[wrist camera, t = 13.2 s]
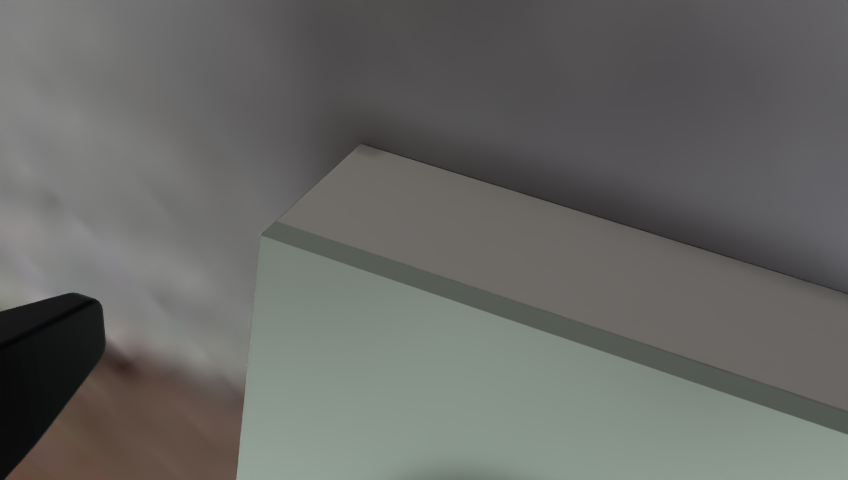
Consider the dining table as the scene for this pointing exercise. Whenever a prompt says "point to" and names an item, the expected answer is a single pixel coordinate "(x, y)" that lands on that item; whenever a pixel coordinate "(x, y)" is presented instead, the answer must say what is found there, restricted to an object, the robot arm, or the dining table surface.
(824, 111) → the dining table surface
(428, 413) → the lid
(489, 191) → the box
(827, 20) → the dining table surface
